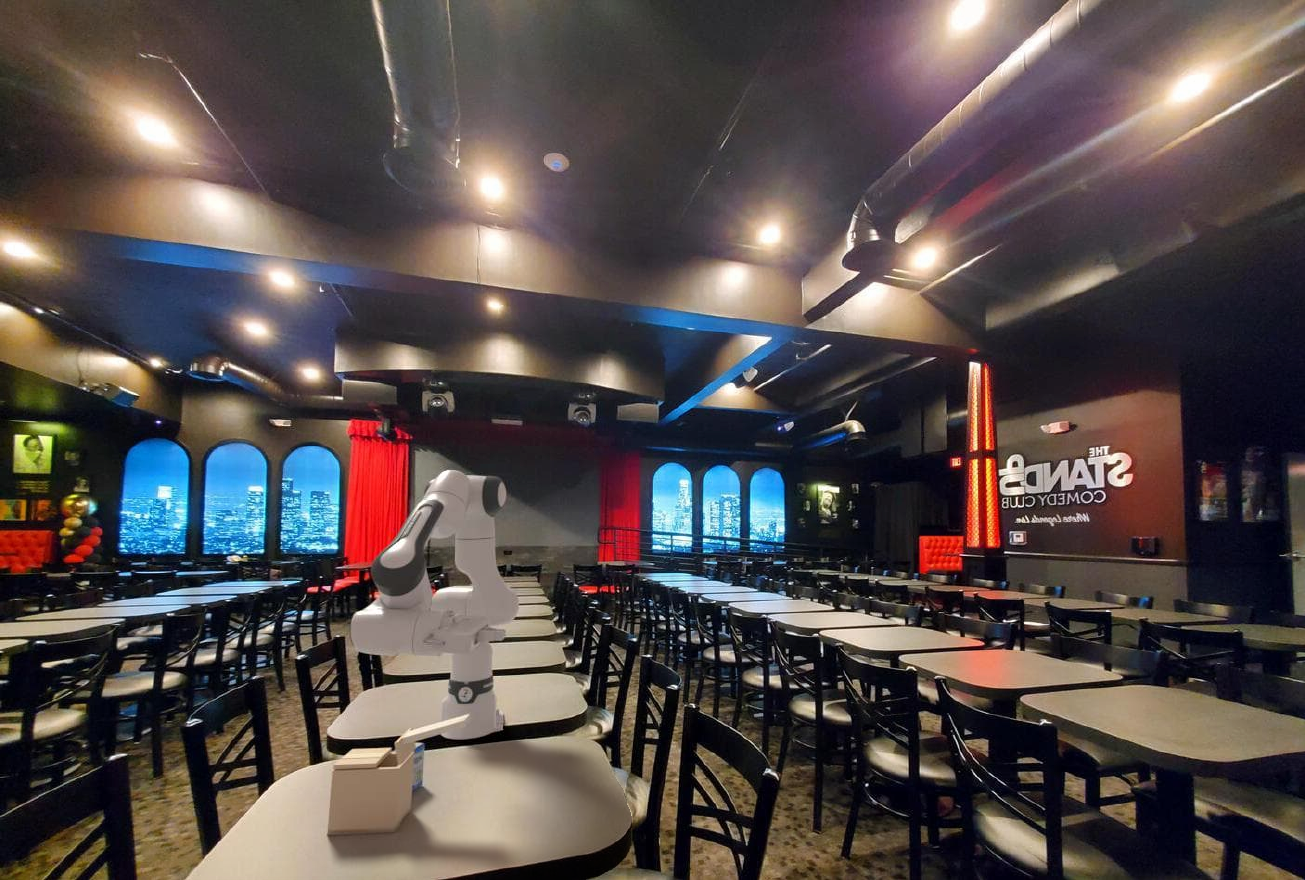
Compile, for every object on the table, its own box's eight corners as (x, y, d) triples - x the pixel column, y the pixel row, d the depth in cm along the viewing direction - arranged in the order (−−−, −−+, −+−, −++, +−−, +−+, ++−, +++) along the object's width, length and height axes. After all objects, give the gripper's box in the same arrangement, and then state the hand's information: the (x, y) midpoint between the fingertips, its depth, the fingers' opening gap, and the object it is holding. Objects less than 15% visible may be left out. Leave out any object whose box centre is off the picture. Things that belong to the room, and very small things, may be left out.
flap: (408, 728, 111) (471, 710, 112) (412, 749, 110) (475, 731, 112) (394, 742, 103) (462, 723, 105) (398, 764, 103) (466, 745, 104)
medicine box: (399, 802, 112) (402, 756, 113) (380, 800, 113) (383, 755, 114) (422, 785, 120) (425, 742, 121) (404, 783, 120) (407, 741, 122)
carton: (347, 813, 108) (352, 748, 110) (410, 810, 109) (414, 745, 111) (327, 835, 100) (333, 764, 102) (395, 831, 101) (399, 762, 103)
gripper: (420, 625, 101) (496, 627, 103) (449, 609, 121) (513, 611, 123) (416, 661, 100) (493, 663, 102) (446, 639, 120) (510, 641, 122)
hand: (504, 634), depth 112 cm, fingers closed
